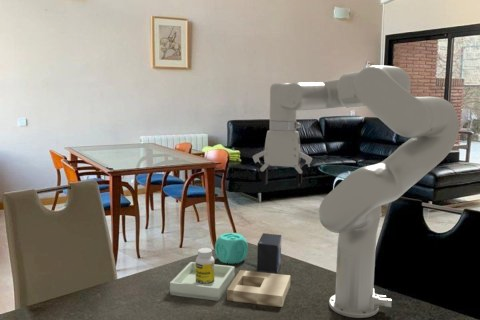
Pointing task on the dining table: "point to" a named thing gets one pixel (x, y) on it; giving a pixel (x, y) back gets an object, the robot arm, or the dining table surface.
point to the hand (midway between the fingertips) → (281, 185)
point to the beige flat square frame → (259, 288)
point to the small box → (269, 253)
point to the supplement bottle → (205, 267)
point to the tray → (188, 287)
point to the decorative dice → (231, 248)
